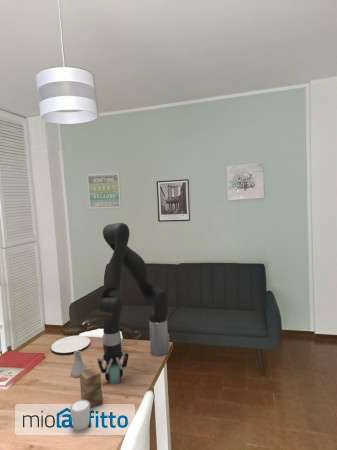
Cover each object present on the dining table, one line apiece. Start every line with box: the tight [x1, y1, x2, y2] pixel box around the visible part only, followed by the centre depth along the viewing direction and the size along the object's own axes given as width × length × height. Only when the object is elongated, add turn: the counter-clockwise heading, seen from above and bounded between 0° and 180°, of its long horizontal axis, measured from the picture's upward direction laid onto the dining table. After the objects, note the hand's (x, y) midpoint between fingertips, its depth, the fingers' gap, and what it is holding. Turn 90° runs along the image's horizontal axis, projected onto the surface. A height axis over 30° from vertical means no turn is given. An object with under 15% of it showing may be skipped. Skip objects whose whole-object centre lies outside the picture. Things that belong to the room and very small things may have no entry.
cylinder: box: [108, 364, 121, 385], centre depth 137 cm, size 5×5×7 cm
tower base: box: [80, 387, 103, 409], centre depth 122 cm, size 7×7×6 cm
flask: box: [70, 350, 87, 378], centre depth 144 cm, size 7×7×10 cm
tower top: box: [79, 366, 102, 394], centre depth 122 cm, size 6×6×6 cm
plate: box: [50, 335, 91, 354], centre depth 172 cm, size 21×21×2 cm
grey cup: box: [69, 399, 91, 431], centre depth 110 cm, size 7×7×7 cm
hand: (114, 378), depth 137 cm, fingers closed on cylinder, 5 cm apart
